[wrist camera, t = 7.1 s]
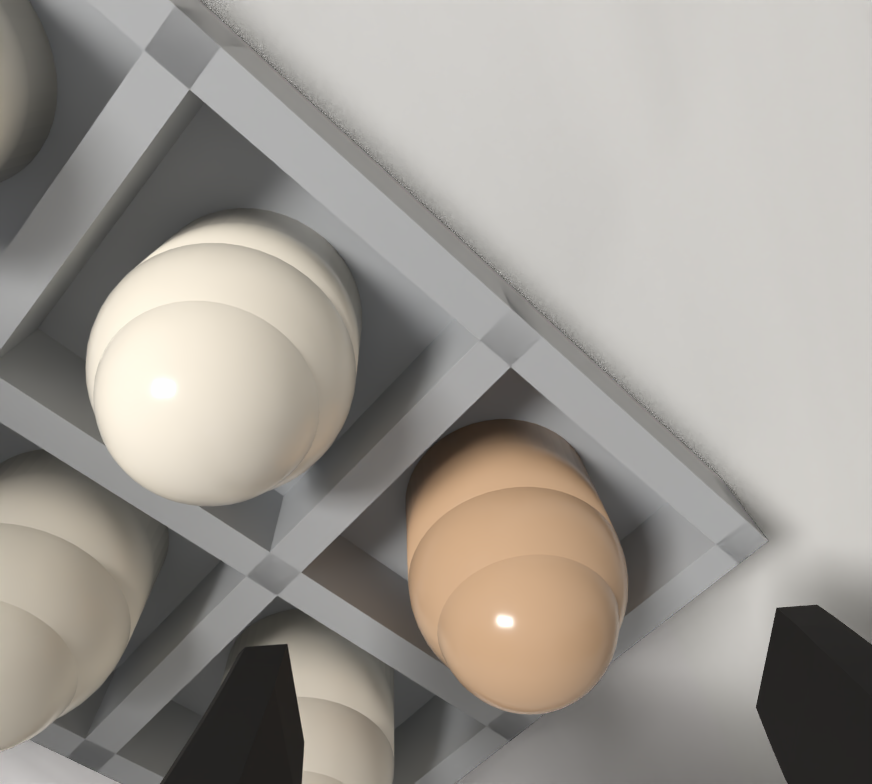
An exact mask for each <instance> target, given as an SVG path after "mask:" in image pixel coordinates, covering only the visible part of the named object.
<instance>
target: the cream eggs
mask: <svg viewBox="0 0 872 784" xmlns="http://www.w3.org/2000/svg"><path fill="white" fill-rule="evenodd" d="M56 105H57V74H56V68H55V63H54V57H53V53H52V50H51V47H50V44H49V40H48V37H47V35H46V33H45V30H44V28H43V26H42V23H41V21H40V19H39V17H38V15H37V13H36V12H35V10H34V8H33V6H32V5H31V3H30V1H29V0H0V182H2V181H5V180H7V179H9V178H11V177H12V176H14V175H15V174H17V173H18V172H20V171H21V170H22V169H24V168H25V167H26V166H27V165H28V164H29V163H30V162H31V161H32V160H33V159H34V158H35V156H36V155H37V154H38V153H39V151H40V150H41V148H42V146H43V145H44V143H45V141H46V139H47V138H48V135H49V132H50V130H51V127H52V124H53V121H54V116H55V111H56ZM361 330H362V307H361V300H360V295H359V292H358V289H357V285H356V283H355V280H354V278H353V276H352V274H351V271H350V270H349V268H348V266H347V265H346V263H345V262H344V260H343V258H342V257H341V256H340V255H339V253H338V252H337V251H336V250H335V249H334V247H333V246H332V245H331V244H330V243H329V242H327V241H326V240H325V239H324V238H323V237H322V236H321V235H319V234H318V233H317V232H315V231H314V230H313V229H311V228H310V227H308V226H306V225H305V224H303V223H301V222H299V221H298V220H295V219H293V218H290V217H288V216H286V215H283V214H279V213H276V212H272V211H268V210H261V209H254V208H236V209H227V210H221V211H218V212H214V213H210V214H207V215H205V216H203V217H200V218H198V219H196V220H194V221H192V222H191V223H189V224H187V225H186V226H184V227H183V228H181V229H180V230H179V231H178V232H177V233H175V234H174V235H173V236H172V237H171V238H169V239H168V240H167V241H166V242H165V243H164V244H162V245H161V246H160V247H159V248H158V249H156V250H155V251H154V252H153V253H152V254H151V255H149V256H148V257H147V258H146V259H145V260H143V261H142V262H141V263H140V264H139V265H138V266H136V267H135V268H134V269H133V270H132V271H131V272H129V273H128V274H127V275H126V276H125V277H124V278H123V279H122V280H121V281H120V283H119V284H118V285H117V286H116V287H115V288H114V289H113V291H112V292H111V293H110V294H109V296H108V297H107V299H106V300H105V302H104V303H103V305H102V307H101V309H100V311H99V313H98V315H97V318H96V320H95V322H94V325H93V327H92V330H91V333H90V337H89V341H88V345H87V355H86V384H87V389H88V394H89V399H90V402H91V405H92V408H93V411H94V414H95V417H96V422H97V425H98V428H99V431H100V434H101V437H102V440H103V442H104V444H105V446H106V447H107V449H108V451H109V453H110V454H111V455H112V457H113V458H114V460H115V461H116V462H117V464H118V465H119V466H120V467H121V468H122V469H123V470H124V471H125V473H126V474H128V475H129V476H130V477H131V478H132V479H133V480H134V481H135V482H137V483H138V484H140V485H141V486H142V487H144V488H145V489H147V490H149V491H151V492H152V493H154V494H156V495H158V496H161V497H163V498H165V499H168V500H171V501H174V502H178V503H182V504H187V505H194V506H223V505H231V504H235V503H239V502H243V501H246V500H249V499H251V498H254V497H256V496H259V495H261V494H263V493H265V492H267V491H270V490H272V489H275V488H277V487H280V486H282V485H284V484H286V483H288V482H290V481H291V480H293V479H295V478H296V477H298V476H299V475H301V474H302V473H304V472H305V471H306V470H307V469H309V468H310V467H311V466H312V465H313V464H314V463H315V462H316V461H318V460H319V459H320V458H321V457H322V456H323V455H324V453H325V452H326V451H327V450H328V449H329V447H330V446H331V445H332V443H333V442H334V440H335V438H336V437H337V435H338V434H339V432H340V430H341V429H342V427H343V425H344V423H345V420H346V418H347V416H348V414H349V410H350V406H351V403H352V399H353V395H354V391H355V382H356V374H357V365H358V356H359V348H360V339H361ZM168 546H169V532H168V527H167V526H165V525H164V524H162V523H160V522H159V521H157V520H156V519H154V518H152V517H151V516H149V515H148V514H146V513H144V512H143V511H141V510H140V509H138V508H136V507H135V506H133V505H132V504H130V503H128V502H127V501H125V500H124V499H122V498H120V497H119V496H117V495H116V494H114V493H112V492H111V491H109V490H108V489H106V488H104V487H103V486H101V485H100V484H98V483H97V482H95V481H93V480H92V479H90V478H89V477H87V476H85V475H84V474H82V473H81V472H79V471H77V470H76V469H74V468H73V467H71V466H69V465H68V464H66V463H65V462H63V461H61V460H60V459H58V458H57V457H55V456H53V455H52V454H50V453H49V452H47V451H45V450H44V449H41V450H33V451H29V452H25V453H21V454H19V455H16V456H13V457H11V458H9V459H7V460H5V461H4V462H2V463H0V752H1V751H5V750H8V749H10V748H13V747H15V746H17V745H19V744H21V743H23V742H25V741H27V740H29V739H31V738H33V737H34V736H36V735H37V734H39V733H40V732H41V731H43V730H44V729H46V728H47V727H48V726H49V725H50V724H52V723H53V722H54V721H55V720H56V719H57V718H59V717H62V716H64V715H65V714H67V713H68V712H70V711H71V710H73V709H74V708H76V707H77V706H79V705H80V704H81V703H83V702H84V701H85V700H86V699H87V698H89V697H90V696H91V695H92V694H93V693H94V692H95V691H96V690H97V689H98V688H99V687H100V686H101V685H102V684H103V683H104V681H105V680H106V679H107V678H108V676H109V675H110V674H111V673H112V671H113V670H114V669H115V667H116V665H117V664H118V662H119V660H120V658H121V656H122V655H123V653H124V651H125V649H126V647H127V645H128V642H129V640H130V638H131V636H132V634H133V631H134V629H135V627H136V625H137V622H138V620H139V618H140V616H141V613H142V611H143V609H144V607H145V604H146V602H147V600H148V598H149V595H150V593H151V591H152V589H153V586H154V584H155V582H156V580H157V577H158V575H159V573H160V571H161V568H162V566H163V564H164V562H165V559H166V556H167V552H168ZM277 644H288V650H289V656H290V661H291V667H292V673H293V679H294V685H295V690H296V696H297V702H298V708H299V714H300V719H301V725H302V731H303V737H304V758H303V773H302V784H392V783H393V777H394V668H392V667H391V666H389V665H387V664H386V663H384V662H383V661H381V660H379V659H378V658H376V657H375V656H373V655H371V654H370V653H368V652H367V651H365V650H363V649H362V648H360V647H359V646H357V645H355V644H354V643H352V642H351V641H349V640H347V639H346V638H344V637H343V636H341V635H339V634H338V633H336V632H335V631H333V630H331V629H330V628H328V627H327V626H325V625H323V624H322V623H320V622H319V621H317V620H315V619H314V618H312V617H311V616H309V615H307V614H306V613H304V612H303V611H301V610H299V609H291V610H286V611H282V612H278V613H275V614H272V615H269V616H267V617H265V618H263V619H261V620H259V621H257V622H256V623H254V624H253V625H251V626H250V627H249V628H247V629H246V630H245V631H244V632H243V633H242V634H241V635H240V636H239V637H238V638H237V640H236V641H235V643H234V645H233V646H232V648H231V651H230V653H229V656H228V660H227V663H226V667H225V671H224V674H223V678H222V682H221V684H222V683H223V681H224V679H225V677H226V676H227V674H228V672H229V670H230V668H231V667H232V665H233V663H234V661H235V659H236V657H237V655H238V654H239V653H240V652H241V651H242V650H243V649H244V648H245V647H250V646H264V645H277ZM220 686H221V685H220Z"/></svg>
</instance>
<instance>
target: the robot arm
mask: <svg viewBox="0 0 872 784" xmlns="http://www.w3.org/2000/svg"><path fill="white" fill-rule="evenodd" d="M756 708H757V711H758V714H759V716H760V719H761V721H762V724H763V726H764V729H765V731H766V734H767V736H768V739H769V741H770V744H771V746H772V749H773V751H774V753H775V756H776V758H777V761H778V763H779V765H780V768H781V770H782V772H783V775H784V777H785V779H786V781H787V783H788V784H872V645H871V644H870V643H869V642H867V641H866V640H865V639H863V638H862V637H861V636H859V635H858V634H857V633H855V632H854V631H853V630H851V629H850V628H849V627H847V626H846V625H845V624H843V623H842V622H841V621H839V620H838V619H836V618H835V617H834V616H832V615H831V614H829V613H828V612H827V611H825V610H824V609H822V608H821V607H820V606H818V605H808V606H795V607H781V608H776V613H775V618H774V623H773V628H772V633H771V637H770V642H769V647H768V652H767V657H766V662H765V666H764V671H763V676H762V681H761V686H760V691H759V695H758V700H757V705H756ZM303 758H304V737H303V731H302V725H301V719H300V714H299V708H298V702H297V696H296V690H295V685H294V679H293V673H292V667H291V661H290V656H289V650H288V644H277V645H264V646H250V647H245V648H244V649H243V650H242V651H241V652H240V653H239V654H238V655H237V657H236V659H235V661H234V663H233V665H232V667H231V668H230V670H229V672H228V674H227V676H226V677H225V679H224V681H223V683H222V684H221V686H220V688H219V690H218V691H217V693H216V695H215V697H214V698H213V700H212V702H211V703H210V705H209V707H208V709H207V710H206V712H205V713H204V715H203V717H202V718H201V720H200V722H199V723H198V725H197V727H196V728H195V730H194V732H193V733H192V735H191V736H190V738H189V739H188V741H187V743H186V744H185V746H184V747H183V749H182V750H181V752H180V753H179V755H178V756H177V758H176V760H175V761H174V763H173V764H172V766H171V767H170V769H169V770H168V772H167V774H166V775H165V777H164V778H163V780H162V781H161V783H160V784H302V773H303Z"/></svg>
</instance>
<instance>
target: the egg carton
mask: <svg viewBox="0 0 872 784" xmlns="http://www.w3.org/2000/svg"><path fill="white" fill-rule="evenodd" d="M29 1H30V3H31V5H32V6H33V8H34V10H35V12H36V13H37V15H38V17H39V19H40V21H41V23H42V26H43V28H44V30H45V33H46V35H47V37H48V40H49V44H50V47H51V50H52V53H53V57H54V63H55V68H56V74H57V105H56V111H55V116H54V121H53V124H52V127H51V130H50V132H49V135H48V138H47V139H46V141H45V143H44V145H43V146H42V148H41V150H40V151H39V153H38V154H37V155H36V156H35V158H34V159H33V160H32V161H31V162H30V163H29V164H28V165H27V166H26V167H25V168H24V169H22V170H21V171H20V172H18V173H17V174H15V175H14V176H12V177H11V178H9V179H7V180H5V181H2V182H0V463H2V462H4V461H5V460H7V459H9V458H11V457H13V456H16V455H19V454H21V453H25V452H29V451H33V450H41V449H44V450H45V451H47V452H49V453H50V454H52V455H53V456H55V457H57V458H58V459H60V460H61V461H63V462H65V463H66V464H68V465H69V466H71V467H73V468H74V469H76V470H77V471H79V472H81V473H82V474H84V475H85V476H87V477H89V478H90V479H92V480H93V481H95V482H97V483H98V484H100V485H101V486H103V487H104V488H106V489H108V490H109V491H111V492H112V493H114V494H116V495H117V496H119V497H120V498H122V499H124V500H125V501H127V502H128V503H130V504H132V505H133V506H135V507H136V508H138V509H140V510H141V511H143V512H144V513H146V514H148V515H149V516H151V517H152V518H154V519H156V520H157V521H159V522H160V523H162V524H164V525H165V526H167V527H168V532H169V546H168V552H167V556H166V559H165V562H164V564H163V566H162V568H161V571H160V573H159V575H158V577H157V580H156V582H155V584H154V586H153V589H152V591H151V593H150V595H149V598H148V600H147V602H146V604H145V607H144V609H143V611H142V613H141V616H140V618H139V620H138V622H137V625H136V627H135V629H134V631H133V634H132V636H131V638H130V640H129V642H128V645H127V647H126V649H125V651H124V653H123V655H122V656H121V658H120V660H119V662H118V664H117V665H116V667H115V669H114V670H113V671H112V673H111V674H110V675H109V676H108V678H107V679H106V680H105V681H104V683H103V684H102V685H101V686H100V687H99V688H98V689H97V690H96V691H95V692H94V693H93V694H92V695H91V696H90V697H89V698H87V699H86V700H85V701H84V702H83V703H81V704H80V705H79V706H77V707H76V708H74V709H73V710H71V711H70V712H68V713H67V714H65V715H64V716H62V717H59V718H57V719H56V720H55V721H54V722H53V723H52V724H50V725H49V726H48V727H47V728H46V729H44V730H43V731H41V732H40V733H39V734H37V735H36V736H34V737H33V738H31V739H29V740H31V741H33V742H35V743H38V744H40V745H42V746H44V747H46V748H48V749H50V750H52V751H54V752H56V753H58V754H60V755H63V756H65V757H67V758H69V759H71V760H73V761H75V762H77V763H79V764H81V765H83V766H85V767H88V768H90V769H92V770H94V771H96V772H98V773H100V774H102V775H104V776H106V777H108V778H110V779H113V780H115V781H117V782H119V783H121V784H160V783H161V781H162V780H163V778H164V777H165V775H166V774H167V772H168V770H169V769H170V767H171V766H172V764H173V763H174V761H175V760H176V758H177V756H178V755H179V753H180V752H181V750H182V749H183V747H184V746H185V744H186V743H187V741H188V739H189V738H190V736H191V735H192V733H193V732H194V730H195V728H196V727H197V725H198V723H199V722H200V720H201V718H202V717H203V715H204V713H205V712H206V710H207V709H208V707H209V705H210V703H211V702H212V700H213V698H214V697H215V695H216V693H217V691H218V690H219V688H220V685H221V682H222V678H223V674H224V671H225V667H226V663H227V660H228V656H229V653H230V651H231V648H232V646H233V645H234V643H235V641H236V640H237V638H238V637H239V636H240V635H241V634H242V633H243V632H244V631H245V630H246V629H247V628H249V627H250V626H251V625H253V624H254V623H256V622H257V621H259V620H261V619H263V618H265V617H267V616H269V615H272V614H275V613H278V612H282V611H286V610H291V609H299V610H301V611H303V612H304V613H306V614H307V615H309V616H311V617H312V618H314V619H315V620H317V621H319V622H320V623H322V624H323V625H325V626H327V627H328V628H330V629H331V630H333V631H335V632H336V633H338V634H339V635H341V636H343V637H344V638H346V639H347V640H349V641H351V642H352V643H354V644H355V645H357V646H359V647H360V648H362V649H363V650H365V651H367V652H368V653H370V654H371V655H373V656H375V657H376V658H378V659H379V660H381V661H383V662H384V663H386V664H387V665H389V666H391V667H392V668H394V777H393V783H392V784H455V783H456V782H458V781H459V780H460V779H461V778H463V777H464V776H465V775H467V774H468V773H469V772H471V771H472V770H473V769H474V768H476V767H477V766H478V765H480V764H481V763H482V762H483V761H485V760H486V759H487V758H489V757H490V756H491V755H492V754H494V753H495V752H496V751H498V750H499V749H500V748H502V747H503V746H504V745H505V744H507V743H508V742H509V741H511V740H512V739H513V738H514V737H516V736H517V735H518V734H520V733H521V732H522V731H524V730H525V729H526V728H527V727H529V726H530V725H531V724H533V723H534V722H535V721H536V720H538V719H539V718H540V717H542V716H543V715H544V714H546V713H544V714H531V715H529V714H516V713H510V712H507V711H503V710H500V709H498V708H495V707H493V706H491V705H488V704H487V703H485V702H483V701H481V700H480V699H478V698H477V697H476V696H474V695H473V694H472V693H470V692H469V691H468V690H467V689H466V688H465V687H464V686H463V685H462V684H461V683H460V682H459V681H458V680H457V679H456V677H455V676H454V674H453V673H452V672H451V670H450V669H449V668H448V667H447V666H446V665H445V664H444V663H443V662H442V661H441V660H440V659H439V658H438V657H437V656H436V655H435V654H434V652H433V651H432V650H431V648H430V647H429V646H428V644H427V642H426V641H425V639H424V637H423V635H422V633H421V632H420V630H419V628H418V625H417V622H416V620H415V617H414V613H413V610H412V607H411V602H410V595H409V588H408V566H407V539H406V512H405V497H406V491H407V486H408V483H409V480H410V477H411V474H412V472H413V470H414V468H415V466H416V465H417V464H418V462H419V461H420V459H421V458H422V456H423V455H424V454H425V453H426V452H427V451H428V450H429V449H430V448H431V447H432V446H433V445H434V444H436V443H437V442H438V441H439V440H441V439H442V438H444V437H445V436H447V435H448V434H450V433H452V432H454V431H456V430H458V429H460V428H462V427H465V426H468V425H470V424H473V423H477V422H482V421H486V420H495V419H514V420H522V421H527V422H531V423H535V424H538V425H540V426H543V427H546V428H548V429H549V430H551V431H553V432H555V433H557V434H558V435H559V436H561V437H562V438H563V439H565V440H566V441H567V442H568V443H569V444H570V445H571V446H572V447H573V448H574V449H575V451H576V452H577V453H578V455H579V456H580V458H581V460H582V462H583V464H584V465H585V468H586V470H587V472H588V474H589V476H590V478H591V480H592V483H593V485H594V487H595V489H596V491H597V493H598V495H599V498H600V500H601V502H602V504H603V506H604V508H605V510H606V513H607V515H608V517H609V519H610V521H611V523H612V525H613V527H614V530H615V532H616V534H617V536H618V538H619V541H620V544H621V547H622V550H623V553H624V556H625V559H626V566H627V573H628V602H627V607H626V612H625V616H624V619H623V622H622V625H621V628H620V631H619V635H618V641H617V645H616V649H615V652H614V655H613V658H612V660H611V662H613V661H614V660H615V659H617V658H618V657H619V656H620V655H622V654H623V653H624V652H626V651H627V650H628V649H630V648H631V647H632V646H633V645H635V644H636V643H637V642H639V641H640V640H641V639H642V638H644V637H645V636H646V635H648V634H649V633H650V632H652V631H653V630H654V629H655V628H657V627H658V626H659V625H661V624H662V623H663V622H664V621H666V620H667V619H668V618H670V617H671V616H672V615H674V614H675V613H676V612H677V611H679V610H680V609H681V608H683V607H684V606H685V605H686V604H688V603H689V602H690V601H692V600H693V599H694V598H695V597H697V596H698V595H699V594H701V593H702V592H703V591H705V590H706V589H707V588H708V587H710V586H711V585H712V584H714V583H715V582H716V581H717V580H719V579H720V578H721V577H723V576H724V575H725V574H727V573H728V572H729V571H730V570H732V569H733V568H734V567H736V566H737V565H738V564H739V563H741V562H742V561H743V560H745V559H746V558H747V557H748V556H750V555H751V554H752V553H754V552H755V551H756V550H758V549H759V548H760V547H761V546H763V545H764V544H765V543H767V542H768V539H767V538H766V537H765V535H764V534H763V533H762V531H761V530H760V529H759V527H758V526H757V525H756V523H755V522H754V521H753V520H752V518H751V517H750V516H749V514H748V513H747V512H746V510H745V509H744V508H743V506H742V505H741V504H740V502H739V501H738V500H737V499H736V497H735V496H734V495H733V493H732V492H731V491H730V489H729V488H728V487H727V485H726V484H725V483H724V481H723V480H722V479H721V478H720V477H719V476H718V475H717V474H716V473H715V472H714V471H713V470H712V469H711V468H710V467H708V466H707V465H706V464H705V463H704V462H703V461H702V460H701V459H700V458H699V457H698V456H696V455H695V454H694V453H693V452H692V451H691V450H690V449H689V448H688V447H687V446H686V445H684V444H683V443H682V442H681V441H680V440H679V439H678V438H677V437H676V436H675V435H674V434H672V433H671V432H670V431H669V430H668V429H667V428H666V427H665V426H664V425H663V424H662V423H660V422H659V421H658V420H657V419H656V418H655V417H654V416H653V415H652V414H651V413H650V412H648V411H647V410H646V409H645V408H644V407H643V406H642V405H641V404H640V403H639V402H638V401H636V400H635V399H634V398H633V397H632V396H631V395H630V394H629V393H628V392H627V391H626V390H624V389H623V388H622V387H621V386H620V385H619V384H618V383H617V382H616V381H615V380H614V379H612V378H611V377H610V376H609V375H608V374H607V373H606V372H605V371H604V370H603V369H602V368H600V367H599V366H598V365H597V364H596V363H595V362H594V361H593V360H592V359H591V358H590V357H588V356H587V355H586V354H585V353H584V352H583V351H582V350H581V349H580V348H579V347H578V346H576V345H575V344H574V343H573V342H572V341H571V340H570V339H569V338H568V337H567V336H566V335H564V334H563V333H562V332H561V331H560V330H559V329H558V328H557V327H556V326H555V325H554V324H552V323H551V322H550V321H549V320H548V319H547V318H546V317H545V316H544V315H543V314H542V313H540V312H539V311H538V310H537V309H536V308H535V307H534V306H533V305H532V304H531V303H529V302H528V301H527V300H526V299H525V298H524V297H523V296H522V295H521V294H520V293H519V292H517V291H516V290H515V289H514V288H513V287H512V286H511V285H510V284H509V283H508V282H507V281H505V280H504V279H503V278H502V277H501V276H500V275H499V274H498V273H497V272H496V271H495V270H493V269H492V268H491V267H490V266H489V265H488V264H487V263H486V262H485V261H484V260H483V259H481V258H480V257H479V256H478V255H477V254H476V253H475V252H474V251H473V250H472V249H471V248H469V247H468V246H467V245H466V244H465V243H464V242H463V241H462V240H461V239H460V238H459V237H457V236H456V235H455V234H454V233H453V232H452V231H451V230H450V229H449V228H448V227H447V226H445V225H444V224H443V223H442V222H441V221H440V220H439V219H438V218H437V217H436V216H435V215H433V214H432V213H431V212H430V211H429V210H428V209H427V208H426V207H425V206H424V205H423V204H421V203H420V202H419V201H418V200H417V199H416V198H415V197H414V196H413V195H412V194H411V193H409V192H408V191H407V190H406V189H405V188H404V187H403V186H402V185H401V184H400V183H399V182H397V181H396V180H395V179H394V178H393V177H392V176H391V175H390V174H389V173H388V172H387V171H385V170H384V169H383V168H382V167H381V166H380V165H379V164H378V163H377V162H376V161H375V160H373V159H372V158H371V157H370V156H369V155H368V154H367V153H366V152H365V151H364V150H363V149H361V148H360V147H359V146H358V145H357V144H356V143H355V142H354V141H353V140H352V139H351V138H349V137H348V136H347V135H346V134H345V133H344V132H343V131H342V130H341V129H340V128H338V127H337V126H336V125H335V124H334V123H333V122H332V121H331V120H330V119H329V118H328V117H326V116H325V115H324V114H323V113H322V112H321V111H320V110H319V109H318V108H317V107H316V106H314V105H313V104H312V103H311V102H310V101H309V100H308V99H307V98H306V97H305V96H304V95H302V94H301V93H300V92H299V91H298V90H297V89H296V88H295V87H294V86H293V85H292V84H290V83H289V82H288V81H287V80H286V79H285V78H284V77H283V76H282V75H281V74H280V73H278V72H277V71H276V70H275V69H274V68H273V67H272V66H271V65H270V64H269V63H268V62H266V61H265V60H264V59H263V58H262V57H261V56H260V55H259V54H258V53H257V52H256V51H254V50H253V49H252V48H251V47H250V46H249V45H248V44H247V43H246V42H245V41H244V40H242V39H241V38H240V37H239V36H238V35H237V34H236V33H235V32H234V31H233V30H232V29H230V28H229V27H228V26H227V25H226V24H225V23H224V22H223V21H222V20H221V19H220V18H218V17H217V16H216V15H215V14H214V13H213V12H212V11H211V10H210V9H209V8H208V7H206V6H205V5H204V4H203V3H202V2H201V1H200V0H29ZM236 208H254V209H261V210H268V211H272V212H276V213H279V214H283V215H286V216H288V217H290V218H293V219H295V220H298V221H299V222H301V223H303V224H305V225H306V226H308V227H310V228H311V229H313V230H314V231H315V232H317V233H318V234H319V235H321V236H322V237H323V238H324V239H325V240H326V241H327V242H329V243H330V244H331V245H332V246H333V247H334V249H335V250H336V251H337V252H338V253H339V255H340V256H341V257H342V258H343V260H344V262H345V263H346V265H347V266H348V268H349V270H350V271H351V274H352V276H353V278H354V280H355V283H356V285H357V289H358V292H359V295H360V300H361V307H362V330H361V339H360V348H359V356H358V365H357V374H356V382H355V391H354V395H353V399H352V403H351V406H350V410H349V414H348V416H347V418H346V420H345V423H344V425H343V427H342V429H341V430H340V432H339V434H338V435H337V437H336V438H335V440H334V442H333V443H332V445H331V446H330V447H329V449H328V450H327V451H326V452H325V453H324V455H323V456H322V457H321V458H320V459H319V460H318V461H316V462H315V463H314V464H313V465H312V466H311V467H310V468H309V469H307V470H306V471H305V472H304V473H302V474H301V475H299V476H298V477H296V478H295V479H293V480H291V481H290V482H288V483H286V484H284V485H282V486H280V487H277V488H275V489H272V490H270V491H267V492H265V493H263V494H261V495H259V496H256V497H254V498H251V499H249V500H246V501H243V502H239V503H235V504H231V505H223V506H194V505H187V504H182V503H178V502H174V501H171V500H168V499H165V498H163V497H161V496H158V495H156V494H154V493H152V492H151V491H149V490H147V489H145V488H144V487H142V486H141V485H140V484H138V483H137V482H135V481H134V480H133V479H132V478H131V477H130V476H129V475H128V474H126V473H125V471H124V470H123V469H122V468H121V467H120V466H119V465H118V464H117V462H116V461H115V460H114V458H113V457H112V455H111V454H110V453H109V451H108V449H107V447H106V446H105V444H104V442H103V440H102V437H101V434H100V431H99V428H98V425H97V422H96V417H95V414H94V411H93V408H92V405H91V402H90V399H89V394H88V389H87V384H86V355H87V345H88V341H89V337H90V333H91V330H92V327H93V325H94V322H95V320H96V318H97V315H98V313H99V311H100V309H101V307H102V305H103V303H104V302H105V300H106V299H107V297H108V296H109V294H110V293H111V292H112V291H113V289H114V288H115V287H116V286H117V285H118V284H119V283H120V281H121V280H122V279H123V278H124V277H125V276H126V275H127V274H128V273H129V272H131V271H132V270H133V269H134V268H135V267H136V266H138V265H139V264H140V263H141V262H142V261H143V260H145V259H146V258H147V257H148V256H149V255H151V254H152V253H153V252H154V251H155V250H156V249H158V248H159V247H160V246H161V245H162V244H164V243H165V242H166V241H167V240H168V239H169V238H171V237H172V236H173V235H174V234H175V233H177V232H178V231H179V230H180V229H181V228H183V227H184V226H186V225H187V224H189V223H191V222H192V221H194V220H196V219H198V218H200V217H203V216H205V215H207V214H210V213H214V212H218V211H221V210H227V209H236ZM611 662H610V663H611Z"/></svg>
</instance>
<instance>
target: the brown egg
mask: <svg viewBox="0 0 872 784" xmlns="http://www.w3.org/2000/svg"><path fill="white" fill-rule="evenodd" d="M405 512H406V539H407V566H408V588H409V595H410V602H411V607H412V610H413V613H414V617H415V620H416V622H417V625H418V628H419V630H420V632H421V633H422V635H423V637H424V639H425V641H426V642H427V644H428V646H429V647H430V648H431V650H432V651H433V652H434V654H435V655H436V656H437V657H438V658H439V659H440V660H441V661H442V662H443V663H444V664H445V665H446V666H447V667H448V668H449V669H450V670H451V672H452V673H453V674H454V676H455V677H456V679H457V680H458V681H459V682H460V683H461V684H462V685H463V686H464V687H465V688H466V689H467V690H468V691H469V692H470V693H472V694H473V695H474V696H476V697H477V698H478V699H480V700H481V701H483V702H485V703H487V704H488V705H491V706H493V707H495V708H498V709H500V710H503V711H507V712H510V713H516V714H529V715H531V714H544V713H549V712H553V711H557V710H560V709H562V708H564V707H567V706H569V705H571V704H572V703H574V702H576V701H578V700H579V699H581V698H582V697H584V696H585V695H586V694H587V693H588V692H590V691H591V690H592V688H593V687H594V686H595V685H596V684H597V683H598V682H599V681H600V679H601V678H602V677H603V675H604V674H605V672H606V670H607V668H608V666H609V664H610V662H611V660H612V658H613V655H614V652H615V649H616V645H617V641H618V635H619V631H620V628H621V625H622V622H623V619H624V616H625V612H626V607H627V602H628V573H627V566H626V559H625V556H624V553H623V550H622V547H621V544H620V541H619V538H618V536H617V534H616V532H615V530H614V527H613V525H612V523H611V521H610V519H609V517H608V515H607V513H606V510H605V508H604V506H603V504H602V502H601V500H600V498H599V495H598V493H597V491H596V489H595V487H594V485H593V483H592V480H591V478H590V476H589V474H588V472H587V470H586V468H585V465H584V464H583V462H582V460H581V458H580V456H579V455H578V453H577V452H576V451H575V449H574V448H573V447H572V446H571V445H570V444H569V443H568V442H567V441H566V440H565V439H563V438H562V437H561V436H559V435H558V434H557V433H555V432H553V431H551V430H549V429H548V428H546V427H543V426H540V425H538V424H535V423H531V422H527V421H522V420H514V419H495V420H486V421H482V422H477V423H473V424H470V425H468V426H465V427H462V428H460V429H458V430H456V431H454V432H452V433H450V434H448V435H447V436H445V437H444V438H442V439H441V440H439V441H438V442H437V443H436V444H434V445H433V446H432V447H431V448H430V449H429V450H428V451H427V452H426V453H425V454H424V455H423V456H422V458H421V459H420V461H419V462H418V464H417V465H416V466H415V468H414V470H413V472H412V474H411V477H410V480H409V483H408V486H407V491H406V497H405Z"/></svg>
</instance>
